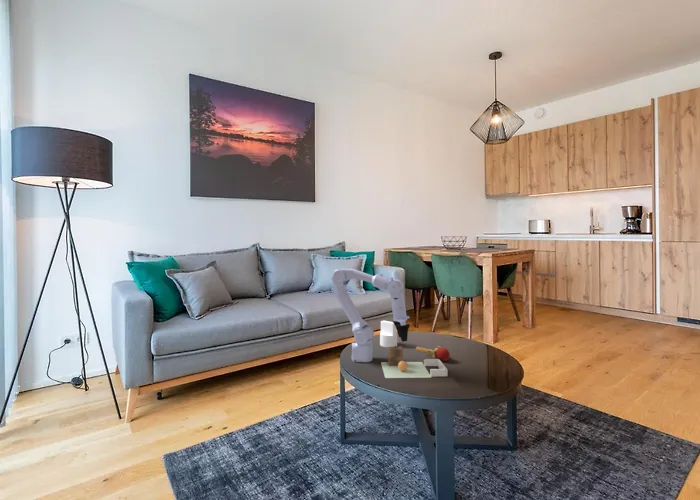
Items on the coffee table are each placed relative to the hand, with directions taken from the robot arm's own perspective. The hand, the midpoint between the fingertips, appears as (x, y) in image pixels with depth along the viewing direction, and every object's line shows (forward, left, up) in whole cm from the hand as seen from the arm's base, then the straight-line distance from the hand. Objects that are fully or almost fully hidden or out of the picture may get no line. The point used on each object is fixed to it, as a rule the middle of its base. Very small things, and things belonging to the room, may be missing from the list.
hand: (403, 339), depth 145 cm
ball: (-1, -7, -9) cm, 12 cm away
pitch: (+3, -6, -12) cm, 14 cm away
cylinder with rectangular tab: (-2, +33, -13) cm, 35 cm away
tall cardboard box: (-3, 0, -11) cm, 11 cm away
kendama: (+16, +13, -13) cm, 24 cm away
